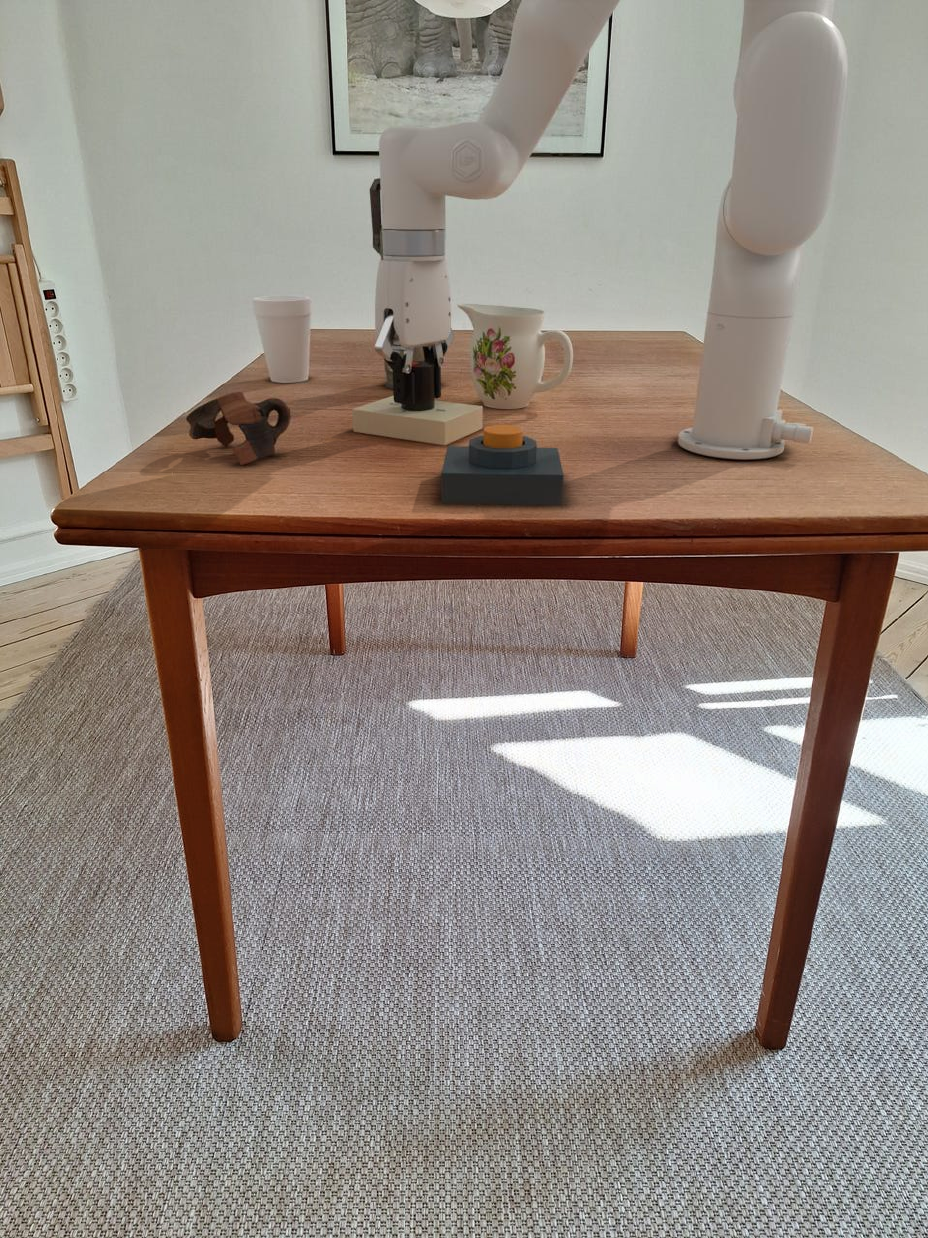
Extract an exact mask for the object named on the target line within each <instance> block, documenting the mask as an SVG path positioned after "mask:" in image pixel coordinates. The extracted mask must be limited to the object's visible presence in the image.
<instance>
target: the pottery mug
mask: <svg viewBox="0 0 928 1238" xmlns="http://www.w3.org/2000/svg"><path fill="white" fill-rule="evenodd" d="M273 411H276V413H277V420H276V423H275V425H272V424H270V422H269V417H270V413H271V412H273ZM220 412H221V414H222V416H221V417H220V418H217V416H218V415H219V413H220ZM291 417H292V414H291V409H290V408H289V406H288V405H287V402H285V401H284V400H282V399H280V398H276V397H271V398H267V399H264V400H262V401H260V402H254V403H253V402H252V401H249V400H247V399H246V397H245V395H244V393H243V392H242V391H235V392H230V393H228V394H227V393H226V394H224V395H222V396H219V397H216V398H215V399H214V398H213V399H211V400H209V401H207V402H205V403H203V404H202V405H200V406H198V407H197V408H195V409H194V410H192V411H191V412H190V413H188V415H187V416H186V418H185V419H186V422H187V423H188V424H189V425H190V429H189V434H188V435H189V437H190V438H191V439H192V440H199V439H207V440H208V439H211V440H212V439H216V440H217V441H218V442H219V444H221V445H222V446H224V447H228V446H229V445H230V444H232V443H233V442H235V441H234V440H235V435H234V434H233V433H232V432H231V430H230V428H229V425H228V424H230V425H232V426H237V427H238V428H239V430H240V431H241V432H242V434H243V435H244V437H245V440H244V441H243V442H242V443H239V444H237V445H236V446H233V447H232V452H233V454H234V455H235V456H236V459H237V461H238V463H239V465H240V466H244V465H246V464H247V465H248V464H249V463H253V462H254V461H256V460H258V459H262V458H267V457H270V456H275V455H276V448H275V445H276V444H277V440H278V439H279V437H280V436H281V435H282V434H284V433H285V432H286V431H287V429H288V427H289V425H290V422H291V419H292V418H291Z"/></svg>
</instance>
